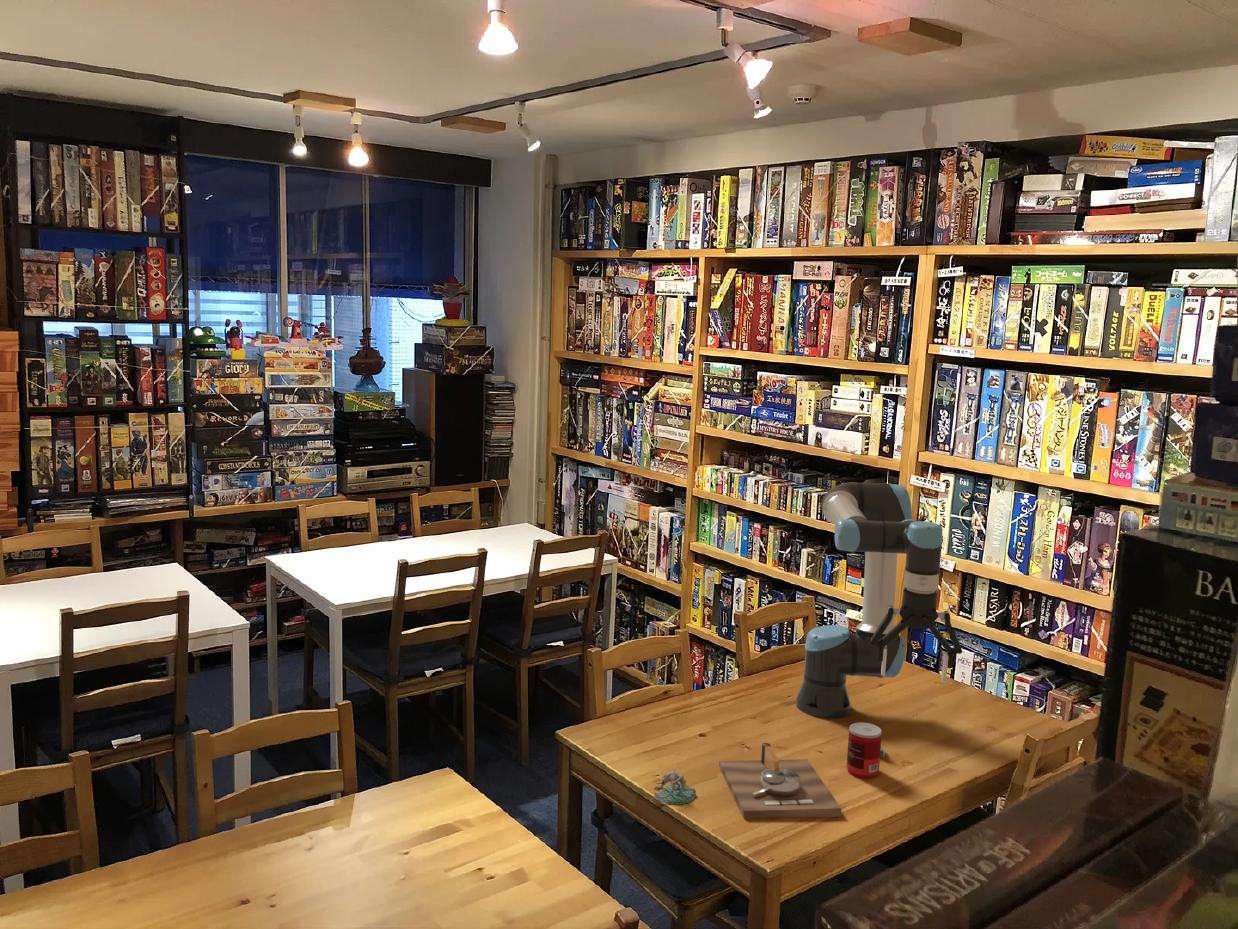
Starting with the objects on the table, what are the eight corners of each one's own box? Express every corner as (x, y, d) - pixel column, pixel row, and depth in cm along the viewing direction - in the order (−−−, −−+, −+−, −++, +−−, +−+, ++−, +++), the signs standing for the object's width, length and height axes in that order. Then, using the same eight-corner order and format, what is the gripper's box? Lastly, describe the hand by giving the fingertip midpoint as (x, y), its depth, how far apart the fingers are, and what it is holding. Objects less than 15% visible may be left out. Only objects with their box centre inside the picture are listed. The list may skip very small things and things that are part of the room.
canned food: (879, 767, 235) (883, 725, 233) (877, 781, 227) (880, 738, 226) (848, 762, 237) (851, 720, 236) (844, 775, 230) (847, 732, 228)
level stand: (718, 769, 231) (719, 760, 231) (806, 767, 234) (807, 758, 233) (743, 819, 207) (744, 809, 207) (840, 816, 210) (841, 807, 210)
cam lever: (733, 761, 231) (734, 743, 230) (782, 760, 232) (783, 742, 231) (752, 798, 213) (754, 778, 212) (805, 796, 214) (806, 777, 214)
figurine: (637, 790, 219) (638, 765, 218) (684, 782, 224) (685, 757, 223) (658, 813, 209) (659, 787, 208) (706, 805, 214) (708, 779, 213)
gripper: (865, 588, 218) (858, 677, 221) (980, 599, 213) (971, 689, 216) (864, 580, 225) (857, 665, 228) (975, 590, 220) (967, 677, 223)
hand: (913, 677), depth 222 cm, fingers open, 13 cm apart
